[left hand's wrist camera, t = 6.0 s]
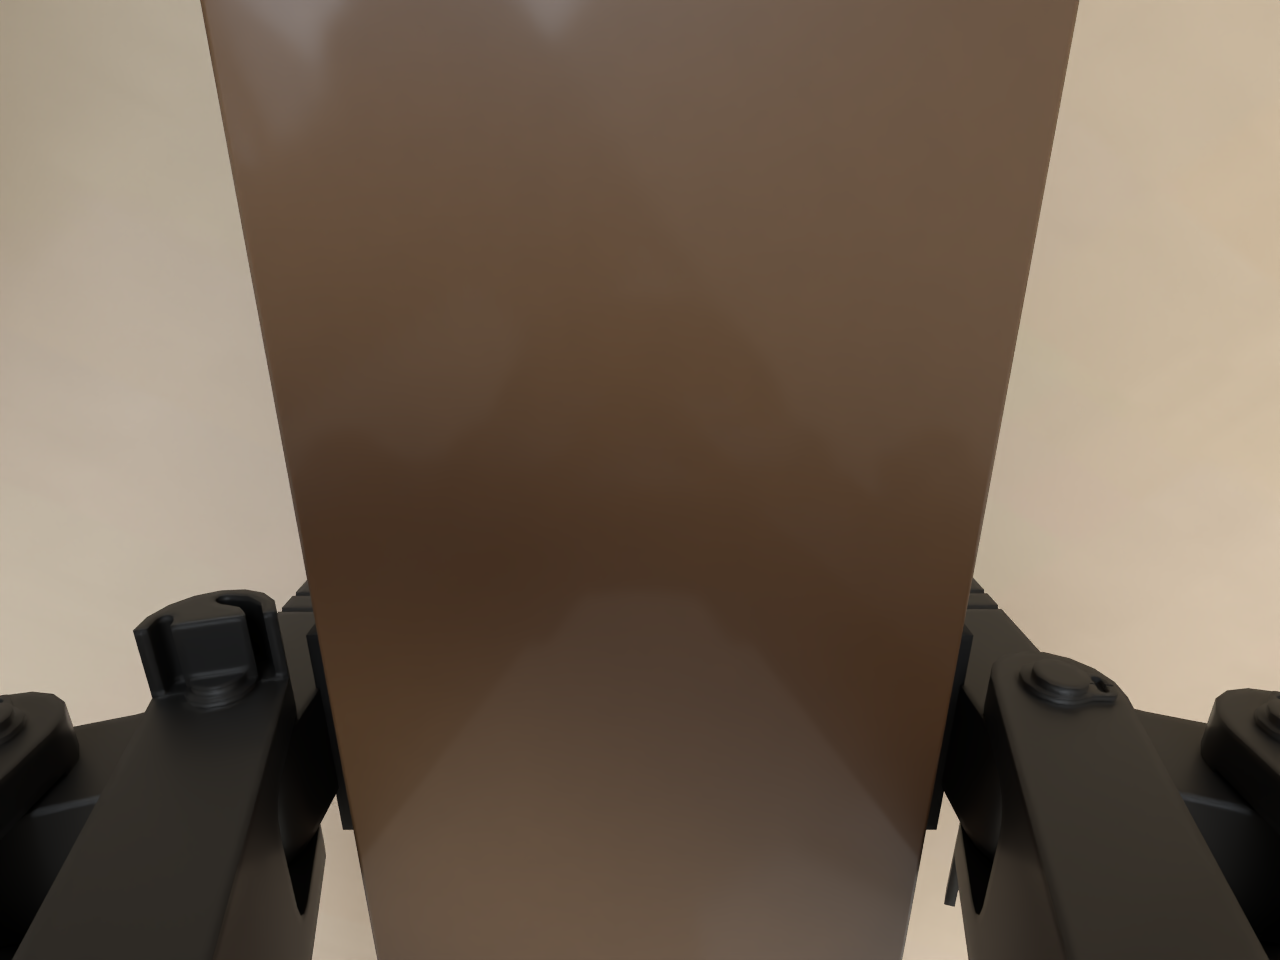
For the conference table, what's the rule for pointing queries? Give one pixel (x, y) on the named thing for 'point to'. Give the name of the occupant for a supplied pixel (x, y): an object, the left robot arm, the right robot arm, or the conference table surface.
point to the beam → (639, 439)
